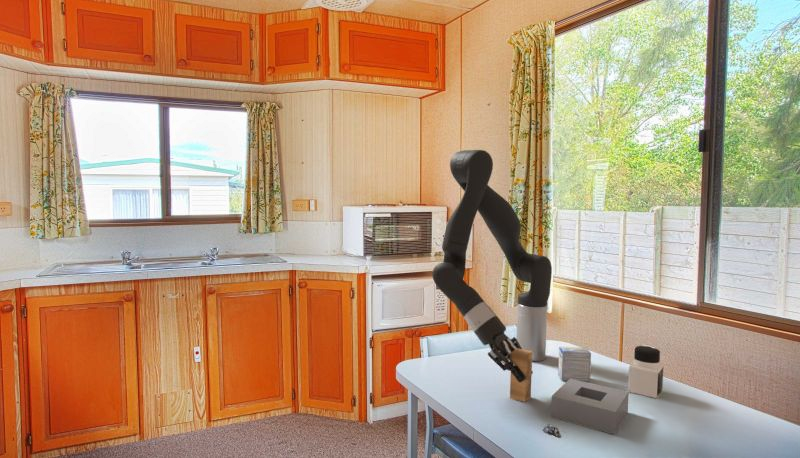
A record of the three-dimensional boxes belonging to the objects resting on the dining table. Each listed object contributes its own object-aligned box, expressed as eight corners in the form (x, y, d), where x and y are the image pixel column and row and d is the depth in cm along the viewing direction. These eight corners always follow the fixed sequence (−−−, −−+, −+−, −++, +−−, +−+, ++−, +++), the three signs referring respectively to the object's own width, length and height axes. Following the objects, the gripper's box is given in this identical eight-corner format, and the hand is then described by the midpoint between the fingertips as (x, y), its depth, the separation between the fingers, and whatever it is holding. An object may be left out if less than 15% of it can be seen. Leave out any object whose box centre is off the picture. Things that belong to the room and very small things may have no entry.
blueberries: (555, 425, 112) (555, 417, 112) (578, 438, 104) (578, 430, 104) (530, 429, 110) (530, 421, 110) (552, 444, 102) (551, 435, 102)
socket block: (569, 397, 126) (570, 378, 126) (627, 412, 118) (628, 391, 117) (550, 416, 115) (551, 395, 114) (614, 434, 106) (615, 412, 106)
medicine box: (585, 376, 141) (587, 347, 140) (590, 382, 136) (591, 352, 136) (557, 375, 142) (558, 346, 141) (561, 381, 137) (562, 351, 137)
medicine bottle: (657, 399, 126) (659, 353, 125) (627, 392, 130) (629, 347, 129) (662, 390, 131) (664, 347, 131) (633, 384, 136) (635, 341, 135)
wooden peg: (516, 393, 128) (517, 348, 127) (530, 397, 126) (532, 351, 125) (509, 398, 125) (511, 352, 124) (524, 402, 122) (526, 355, 122)
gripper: (481, 320, 123) (526, 378, 117) (505, 310, 134) (547, 362, 128) (462, 337, 126) (505, 394, 120) (487, 325, 138) (526, 377, 132)
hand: (526, 377), depth 124 cm, fingers closed on wooden peg, 4 cm apart
